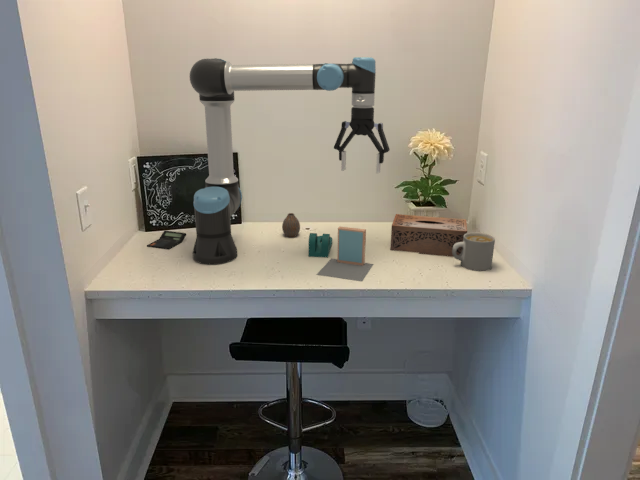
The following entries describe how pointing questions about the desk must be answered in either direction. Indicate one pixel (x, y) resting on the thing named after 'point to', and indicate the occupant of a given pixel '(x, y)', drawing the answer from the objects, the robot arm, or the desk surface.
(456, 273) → the desk surface
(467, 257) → the coffee mug
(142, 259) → the desk surface
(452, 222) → the tissue box cover
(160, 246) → the calculator
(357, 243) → the tile
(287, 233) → the vase
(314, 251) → the bracket
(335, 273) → the mat
